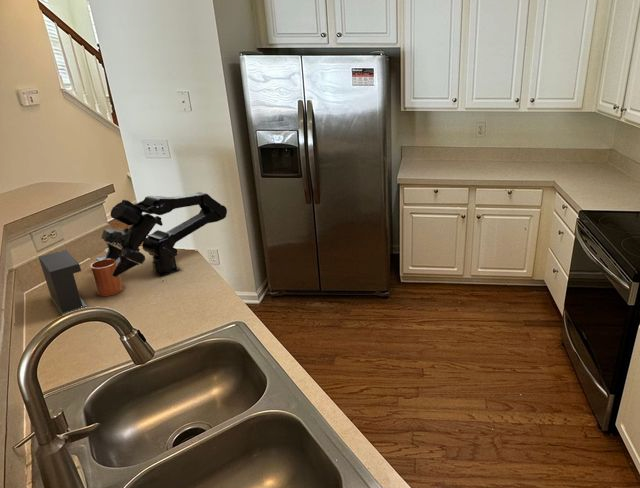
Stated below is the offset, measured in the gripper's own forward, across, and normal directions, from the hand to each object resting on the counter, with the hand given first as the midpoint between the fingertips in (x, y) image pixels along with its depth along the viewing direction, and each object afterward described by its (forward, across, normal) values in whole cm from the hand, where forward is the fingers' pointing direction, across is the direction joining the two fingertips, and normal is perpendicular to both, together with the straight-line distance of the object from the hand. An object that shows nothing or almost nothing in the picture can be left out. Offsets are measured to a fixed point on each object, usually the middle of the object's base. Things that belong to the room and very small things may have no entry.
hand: (109, 271), depth 139 cm
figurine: (+2, -18, +8) cm, 20 cm away
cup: (+6, 0, +4) cm, 7 cm away
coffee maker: (+13, 0, -4) cm, 14 cm away
